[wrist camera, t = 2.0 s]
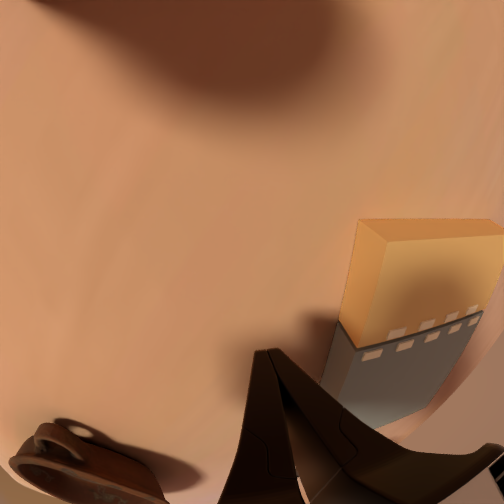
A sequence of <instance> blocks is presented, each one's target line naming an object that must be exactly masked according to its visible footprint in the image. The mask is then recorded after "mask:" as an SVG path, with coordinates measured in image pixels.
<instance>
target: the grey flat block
mask: <svg viewBox="0 0 504 504" xmlns="http://www.w3.org/2000/svg"><path fill="white" fill-rule="evenodd" d="M482 315H483V311H482V310H481V311H478V312H475V313H473V314H470V315H467V316H465V317H462V318H459V319H456V320H454V321H451V322H448V323H445V324H442V325H439V326H436V327H433V328H430V329H427V330H423V331H420V332H417V333H413V334H410V335H407V336H403V337H400V338H396V339H392V340H389V341H385V342H381V343H377V344H373V345H369V346H365V347H361V348H357V347H356V346H355V344H354V343H353V341H352V340H351V338H350V336H349V335H348V333H347V332H346V330H345V329H344V327H343V325H342V324H341V322H339V323H337V326H336V330H335V334H334V337H333V341H332V345H331V348H330V352H329V355H328V359H327V362H326V366H325V369H324V372H323V376H322V379H321V382H320V386H321V387H322V388H323V389H324V390H325V391H327V392H328V393H329V394H330V395H331V396H332V397H333V398H335V399H336V400H337V401H338V402H339V403H340V404H342V405H343V408H344V407H345V408H346V409H347V410H349V411H350V412H351V413H352V414H353V415H355V416H356V417H357V418H358V419H360V420H361V421H362V422H364V423H365V424H366V425H368V426H369V427H371V428H372V429H376V428H379V427H381V426H384V425H386V424H389V423H391V422H394V421H396V420H399V419H401V418H403V417H406V416H408V415H410V414H412V413H415V412H417V411H419V410H421V409H423V408H425V407H426V406H427V405H428V404H429V402H430V401H431V399H432V398H433V397H434V395H435V394H436V392H437V391H438V390H439V388H440V387H441V385H442V384H443V382H444V381H445V379H446V378H447V376H448V375H449V373H450V372H451V370H452V369H453V367H454V365H455V364H456V362H457V360H458V359H459V357H460V355H461V354H462V352H463V350H464V349H465V347H466V345H467V343H468V342H469V340H470V338H471V336H472V334H473V332H474V330H475V328H476V327H477V325H478V323H479V321H480V319H481V317H482Z"/></svg>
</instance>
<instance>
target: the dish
mask: <svg viewBox="0 0 504 504" xmlns="http://www.w3.org/2000/svg"><path fill="white" fill-rule="evenodd" d="M9 466H10V467H11V468H12V469H13V470H14V472H15V473H17V474H18V475H19V476H20V477H21V478H23V479H24V480H26V481H27V482H29V483H30V484H32V485H33V486H35V487H37V488H38V489H40V490H42V491H44V492H46V493H48V494H50V495H52V496H54V497H56V498H58V499H61V500H63V501H66V502H69V503H72V504H170V503H169V502H168V501H166V500H165V498H164V495H163V492H162V490H161V488H160V485H159V483H158V481H157V480H156V478H155V476H154V475H153V473H152V472H151V471H150V470H149V469H148V468H147V467H145V466H144V465H142V464H140V463H139V462H136V461H134V460H132V459H130V458H127V457H125V456H123V455H121V454H118V453H116V452H113V451H110V450H108V449H104V448H101V447H98V446H95V445H92V444H89V443H86V442H83V441H82V440H81V439H79V438H78V437H77V436H76V435H75V434H74V433H72V432H70V431H69V430H67V429H65V428H63V427H61V426H59V425H57V424H54V423H43V424H41V425H40V426H39V427H38V429H37V431H36V433H35V435H34V436H31V437H30V438H29V439H27V440H26V441H25V442H24V444H23V445H22V446H21V448H20V449H19V451H18V452H17V454H16V456H13V457H11V458H10V459H9Z"/></svg>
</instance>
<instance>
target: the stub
mask: <svg viewBox="0 0 504 504" xmlns="http://www.w3.org/2000/svg"><path fill="white" fill-rule="evenodd" d="M503 265H504V228H503V227H501V226H500V225H498V224H496V223H494V222H493V221H491V220H488V219H363V220H359V221H358V227H357V233H356V238H355V244H354V249H353V255H352V260H351V265H350V270H349V274H348V279H347V284H346V288H345V293H344V297H343V301H342V306H341V310H340V314H339V318H338V319H339V321H340V322H341V324H342V325H343V327H344V329H345V330H346V332H347V333H348V335H349V336H350V338H351V340H352V341H353V343H354V344H355V346H356V347H357V348H361V347H365V346H369V345H373V344H377V343H381V342H385V341H389V340H392V339H396V338H400V337H403V336H407V335H410V334H413V333H417V332H420V331H423V330H427V329H430V328H433V327H436V326H439V325H442V324H445V323H448V322H451V321H454V320H456V319H459V318H462V317H465V316H467V315H470V314H473V313H475V312H478V311H481V310H483V309H485V308H486V306H487V304H488V302H489V299H490V297H491V295H492V293H493V290H494V288H495V285H496V283H497V281H498V278H499V276H500V273H501V270H502V268H503Z"/></svg>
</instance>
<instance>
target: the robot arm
mask: <svg viewBox="0 0 504 504" xmlns="http://www.w3.org/2000/svg"><path fill="white" fill-rule="evenodd" d="M503 452H504V447H503V446H501V445H499V444H494V443H486V444H485V445H483V446H482V447H481V448H480V449H478V450H477V451H475V452H473V453H471V454H466V455H450V454H449V455H448V454H435V453H424V452H415V451H411V450H408V449H406V448H403V447H402V446H400V445H398V444H396V443H395V442H393V441H391V440H390V439H388V438H387V437H385V436H383V435H382V434H380V433H379V432H377V431H375V430H374V429H372V428H371V427H369V426H368V425H366V424H365V423H364V422H362V421H361V420H360V419H358V418H357V417H356V416H355V415H353V414H352V413H351V412H350V411H349V410H347V409H346V408H345V407H344V408H343V405H342V404H340V403H339V402H338V401H337V400H336V399H335V398H333V397H332V396H331V395H330V394H329V393H328V392H327V391H325V390H324V389H323V388H322V387H321V386H320V385H319V384H318V383H316V382H315V381H314V380H313V379H312V378H311V377H310V376H309V375H308V374H306V373H305V372H304V371H303V370H302V369H301V368H300V367H299V366H298V365H297V364H296V363H294V362H293V361H292V360H291V359H290V358H289V357H288V356H287V355H286V354H285V353H284V352H283V351H282V350H280V349H279V348H271V349H267V350H265V349H264V350H256V351H255V352H254V358H253V364H252V370H251V376H250V382H249V388H248V394H247V400H246V406H245V412H244V418H243V424H242V429H241V435H240V440H239V445H238V449H237V453H236V456H235V459H234V462H233V465H232V468H231V470H230V473H229V476H228V478H227V481H226V484H225V486H224V489H223V491H222V494H221V496H220V499H219V501H218V503H217V504H305V502H304V500H303V498H302V495H301V492H300V489H299V485H298V481H297V477H300V479H301V482H302V485H303V487H304V490H305V492H306V495H307V497H308V500H309V502H310V504H504V454H503V455H502V456H501V457H500V458H499V459H498V460H496V459H497V458H498V457H499V456H500V455H501V454H502V453H503ZM494 460H496V461H495V462H494V463H493V464H492V465H491V466H489V465H490V464H491V463H492V462H493V461H494ZM295 466H296V469H295ZM488 466H489V467H488Z"/></svg>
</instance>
